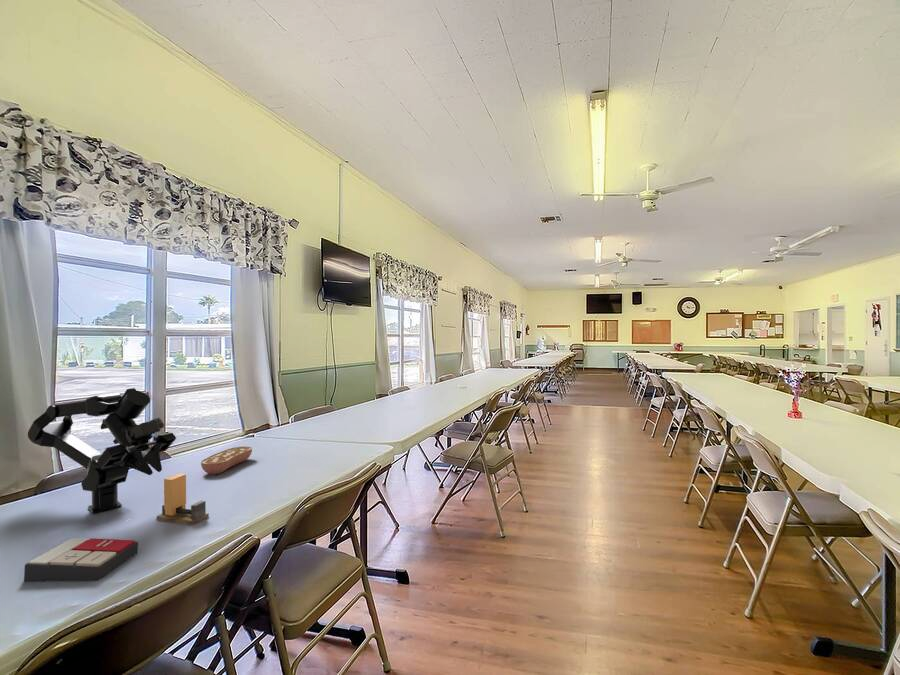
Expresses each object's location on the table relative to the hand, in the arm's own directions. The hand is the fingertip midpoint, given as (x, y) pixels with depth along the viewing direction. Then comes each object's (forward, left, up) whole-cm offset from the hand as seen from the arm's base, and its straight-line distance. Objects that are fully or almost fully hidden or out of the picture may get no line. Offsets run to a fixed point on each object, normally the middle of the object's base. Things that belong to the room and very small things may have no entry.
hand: (156, 472), depth 115 cm
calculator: (+18, -18, -12) cm, 29 cm away
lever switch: (+8, +4, -12) cm, 14 cm away
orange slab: (+6, +3, -10) cm, 12 cm away
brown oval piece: (-29, +31, -12) cm, 44 cm away
